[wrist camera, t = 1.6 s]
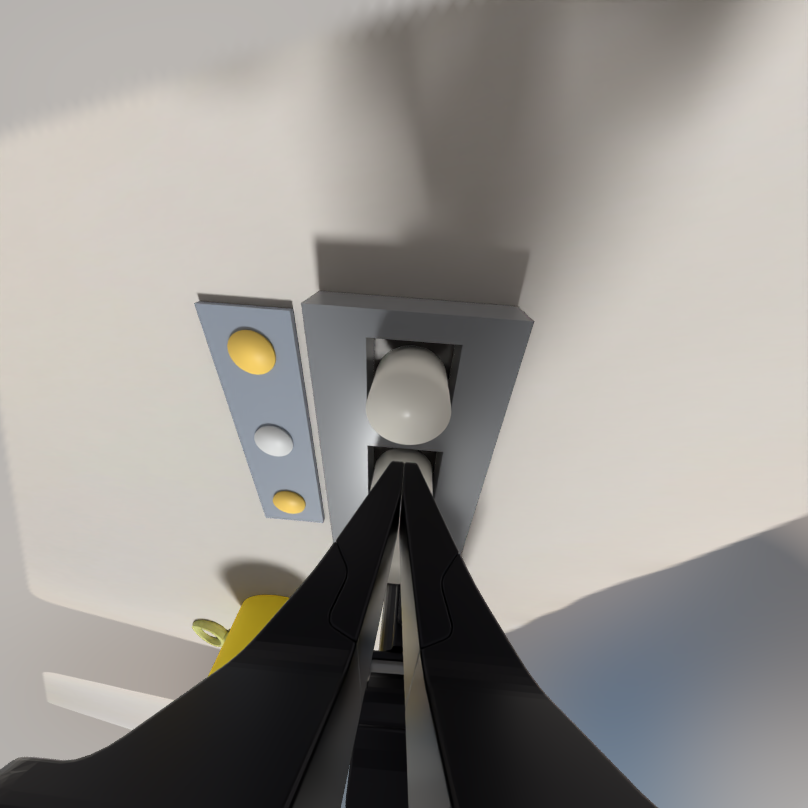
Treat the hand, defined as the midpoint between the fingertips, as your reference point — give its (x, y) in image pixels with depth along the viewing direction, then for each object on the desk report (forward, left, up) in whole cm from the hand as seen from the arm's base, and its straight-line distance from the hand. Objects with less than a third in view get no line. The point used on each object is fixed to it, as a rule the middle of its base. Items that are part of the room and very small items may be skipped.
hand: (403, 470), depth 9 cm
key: (-45, +23, -9) cm, 51 cm away
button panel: (-6, 0, -8) cm, 10 cm away
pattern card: (-6, +9, -8) cm, 14 cm away
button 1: (0, 0, -6) cm, 6 cm away
